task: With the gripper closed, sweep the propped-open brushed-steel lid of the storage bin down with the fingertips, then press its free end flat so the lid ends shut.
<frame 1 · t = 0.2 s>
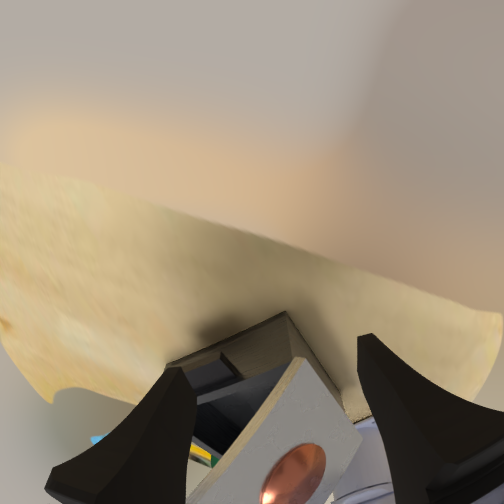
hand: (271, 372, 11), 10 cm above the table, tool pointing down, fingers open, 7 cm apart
storage bin: (257, 383, 25), on the table
lid: (292, 480, 14), point 11 cm above the table, hinge at 50.0°
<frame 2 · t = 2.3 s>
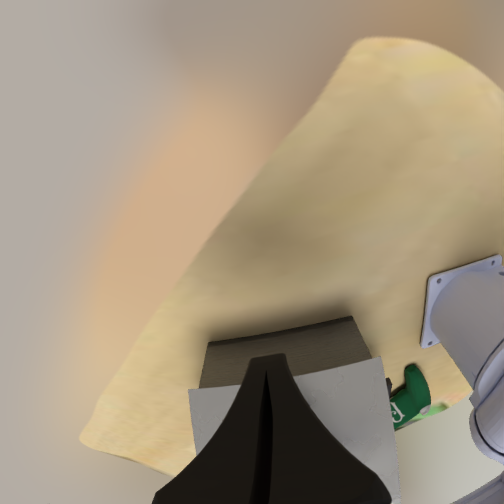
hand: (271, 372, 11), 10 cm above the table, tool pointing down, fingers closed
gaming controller: (387, 393, 27), on the table
storage bin: (290, 379, 25), on the table
lid: (297, 468, 14), point 11 cm above the table, hinge at 50.0°
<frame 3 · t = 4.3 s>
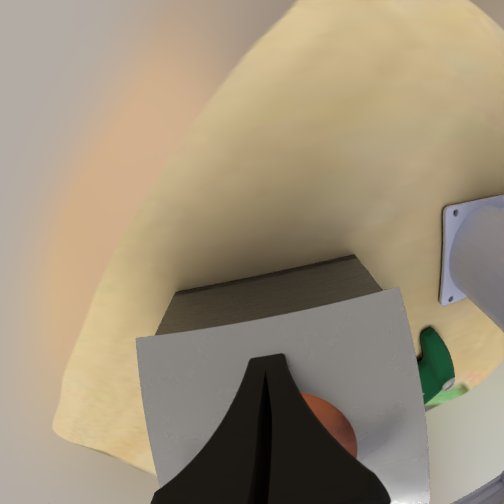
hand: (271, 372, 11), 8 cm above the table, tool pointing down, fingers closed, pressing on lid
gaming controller: (401, 369, 22), on the table
storage bin: (280, 345, 20), on the table
lid: (286, 453, 10), point 10 cm above the table, hinge at 43.8°, touching gripper
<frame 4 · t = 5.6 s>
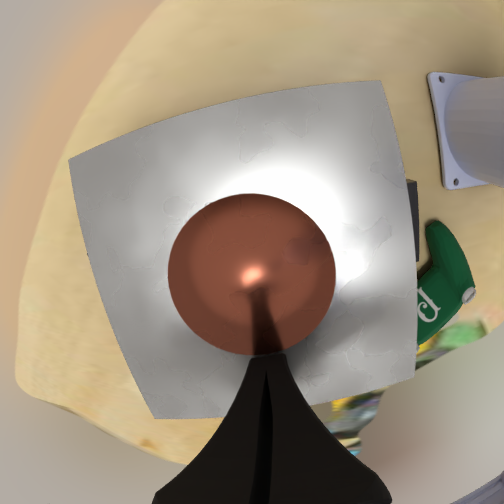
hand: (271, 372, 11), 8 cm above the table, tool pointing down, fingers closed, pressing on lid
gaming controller: (407, 282, 19), on the table
storage bin: (253, 224, 17), on the table
lid: (251, 277, 11), point 7 cm above the table, hinge at 10.5°, touching gripper
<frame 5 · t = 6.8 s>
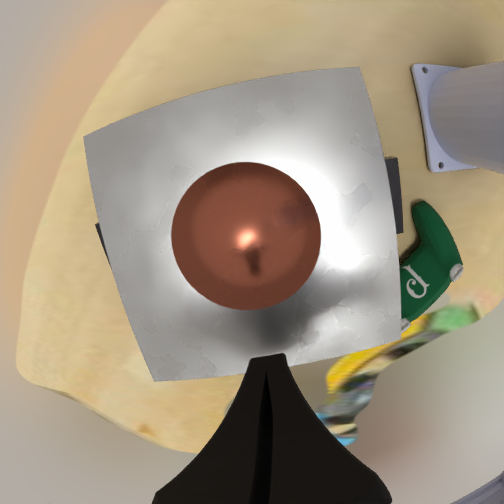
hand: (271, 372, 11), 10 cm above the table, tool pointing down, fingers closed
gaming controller: (397, 262, 20), on the table
storage bin: (249, 203, 19), on the table
lid: (245, 237, 12), point 7 cm above the table, hinge at 9.7°
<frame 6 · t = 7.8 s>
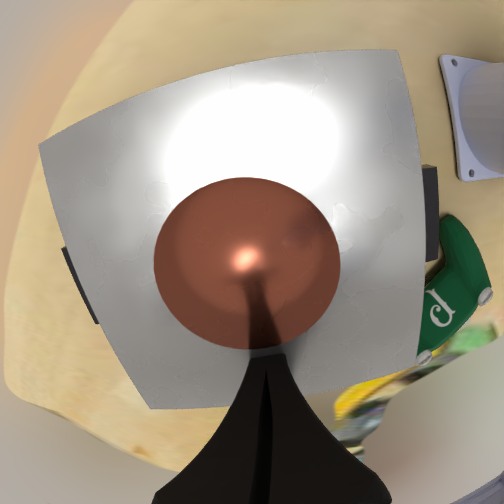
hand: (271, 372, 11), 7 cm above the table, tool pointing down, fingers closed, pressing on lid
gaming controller: (418, 283, 17), on the table
storage bin: (250, 217, 15), on the table
lid: (246, 268, 10), point 6 cm above the table, hinge at 1.5°, touching gripper
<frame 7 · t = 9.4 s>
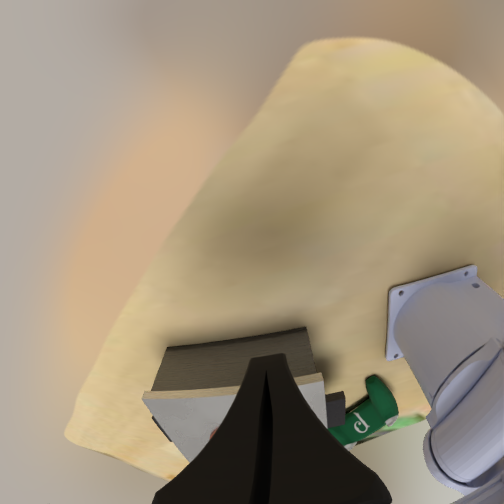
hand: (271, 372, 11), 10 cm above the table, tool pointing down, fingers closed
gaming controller: (353, 403, 27), on the table
storage bin: (249, 386, 25), on the table
lid: (247, 440, 19), point 6 cm above the table, hinge at 1.5°
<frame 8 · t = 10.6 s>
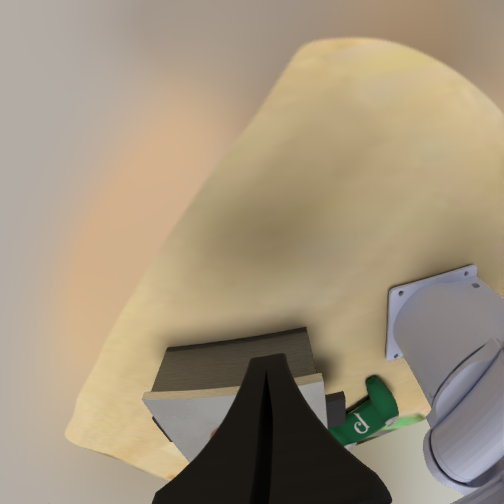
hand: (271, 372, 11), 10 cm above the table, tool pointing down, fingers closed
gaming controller: (353, 404, 27), on the table
storage bin: (249, 386, 25), on the table
lid: (247, 440, 19), point 6 cm above the table, hinge at 1.5°
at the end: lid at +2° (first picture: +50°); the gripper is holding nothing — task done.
